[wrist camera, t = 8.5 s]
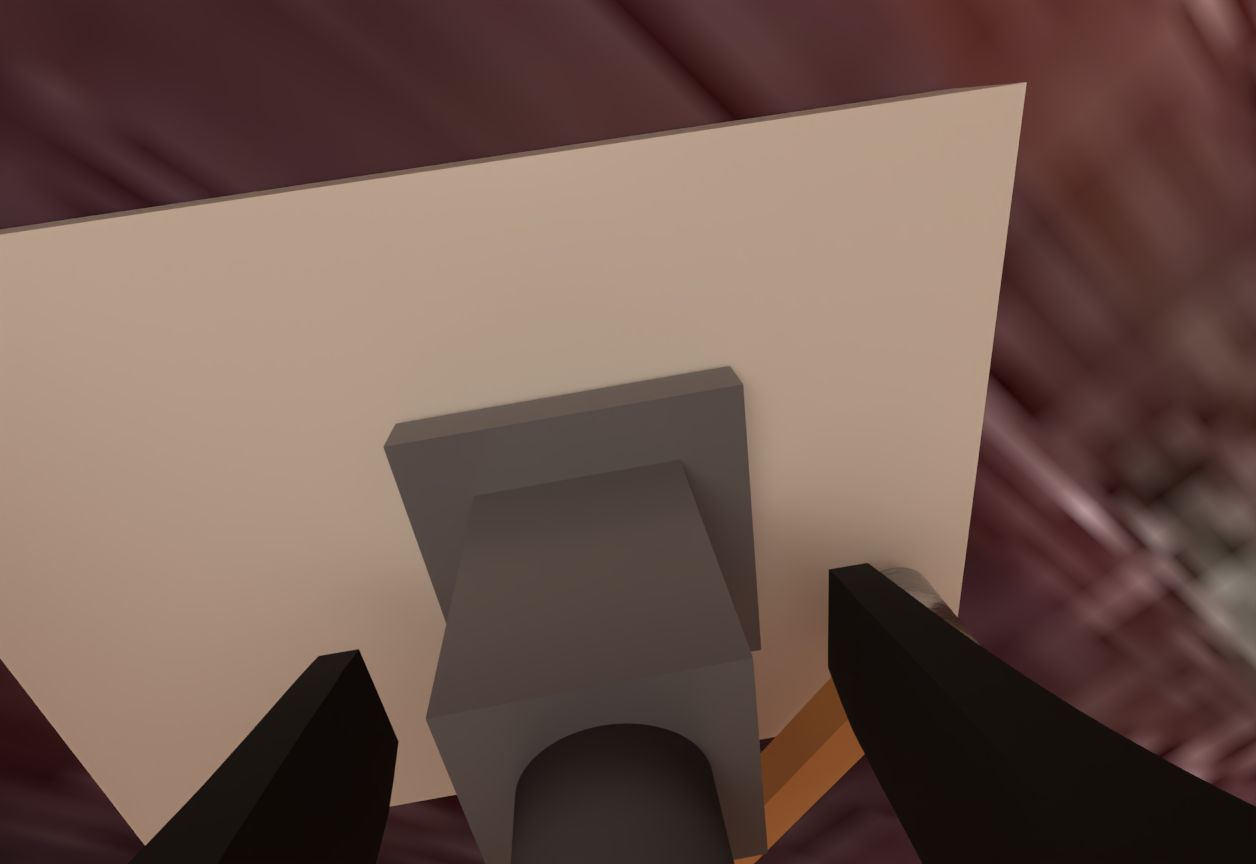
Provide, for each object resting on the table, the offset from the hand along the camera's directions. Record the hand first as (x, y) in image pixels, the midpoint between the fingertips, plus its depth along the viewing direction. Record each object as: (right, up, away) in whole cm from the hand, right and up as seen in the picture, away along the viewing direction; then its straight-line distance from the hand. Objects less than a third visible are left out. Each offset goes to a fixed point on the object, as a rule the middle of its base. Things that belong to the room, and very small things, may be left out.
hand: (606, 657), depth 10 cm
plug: (-1, +3, +5) cm, 6 cm away
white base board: (-3, +2, +5) cm, 6 cm away
